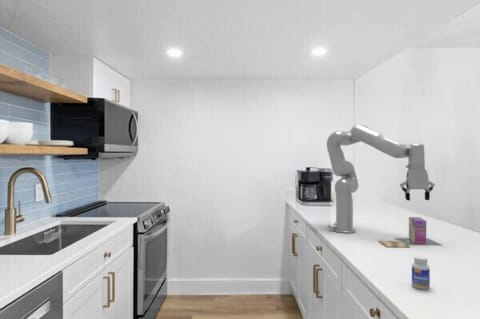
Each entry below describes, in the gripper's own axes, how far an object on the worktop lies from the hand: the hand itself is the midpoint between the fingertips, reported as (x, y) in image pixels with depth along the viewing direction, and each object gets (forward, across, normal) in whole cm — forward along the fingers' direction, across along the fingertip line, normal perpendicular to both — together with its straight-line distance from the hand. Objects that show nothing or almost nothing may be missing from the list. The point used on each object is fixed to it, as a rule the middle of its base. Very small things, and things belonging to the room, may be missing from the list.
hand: (417, 200), depth 178 cm
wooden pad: (+22, -16, -7) cm, 27 cm away
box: (+22, -1, 0) cm, 22 cm away
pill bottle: (+22, -29, -64) cm, 74 cm away
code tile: (+22, -1, 0) cm, 22 cm away
